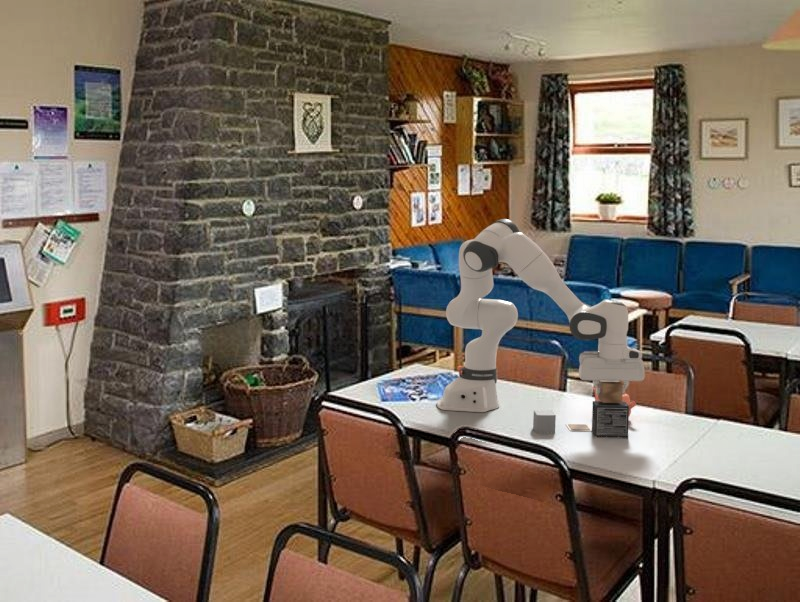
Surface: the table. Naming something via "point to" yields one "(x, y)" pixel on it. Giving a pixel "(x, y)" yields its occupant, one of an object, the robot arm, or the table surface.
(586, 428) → the swatch
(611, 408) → the small box
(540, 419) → the slate cube
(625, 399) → the teapot
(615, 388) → the walnut cube
